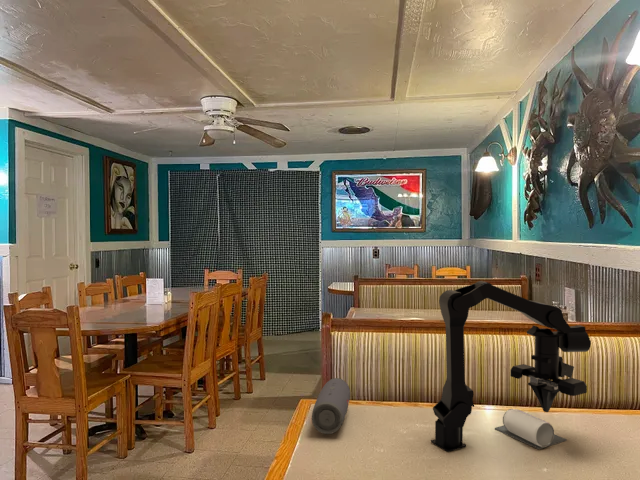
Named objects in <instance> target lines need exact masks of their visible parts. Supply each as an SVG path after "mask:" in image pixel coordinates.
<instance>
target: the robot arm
mask: <svg viewBox="0 0 640 480" xmlns="http://www.w3.org/2000/svg"><path fill="white" fill-rule="evenodd" d="M486 299H488V300H490V301H493V302H495V303H497V304H499V305H502V306H504V307H507V308H510V309H512V310H514V311H517V312H519V313H521V315H524V316H525V317H526V318H528V319H529V320H531V321H532V322H533V323H535V324H537V325H540V326H543V328H540V327H539V326H537V325H532V327H531V328H529V329H528V330H526V334H528V335H530V336H532V337H534V354H531V355H530V356H531V357H530V359H531V360H534V366H531V365H528V364H525V363H524V364H518V365H513V366H512V367H511V368H510V376H509V377H511V378H514V379H517V380H520V379H522V378H523V376H525V377H528V378H529V382H527V385H528V386H530V388H531V389H532V391H533V393H534V395H535V397H536V398H537V400H538V402H539V405H540V406H541V409H542V411H543V412H545V413H549V412H550V409H551V407H552V406H553V403H554V400H555V398H556V397H557V394H559V392H560V393H561V394H564V395H567V396H571V397H575V396H579V395H583V394H587V392H588V386H587V384H586V383H585V381H583V380H580V379H577V378H573V374H574V368H575V366H574V365H571V364H568V363H565V362H564V360H563V357H562V356H561V355H560V350H561V352H563V353H586V352H589V350H591V349H590V348H591V345H592V341H591V339H590V336H589V334H588V333H587V331H586V326H584V325H580V324H579V325H571V326H570V325H569V324H568V322H567V321H566V320H565V318H564V314H563V310H562V309H561V308H559V306H555V305H552V304H548V303H544V302H540V301H535V300H529V299H527V298H524V297H521V296H519V295H517V294H515V293H513V292H510V291H507V290H505V289H502V288H500V287H498V286H495V285H493V284H492V283H490V282H489V281H488V282H487V281H484V280H479V281H477V282H475V283H472V284H469V285H466V286H463V287H459V288H457V289H454V290H453V289H449V290H445V291H443V292H442V293H441V294H440V296H439V300H438V303H439V308H440V313H441V317H442V320H443V322H444V325H445V350H446V351H445V359H446V363H445V365H446V379H445V382H444V384H443V387H442V392H441V397H440V399H439V401H438V402H437V403H436V404H435V405H433V407H432V410H433V413H434V415H435V416H436V417H437V419H436V420H435V422H434V425H435V428H434V429H435V433H434V436H435V437H434V438H433V439H431V440H430V443H432V444H434V445H435V446H436V447H438V448H440V449H442V450H443V451H445V452H447V453H449V452H454V451H456V450H460V449H464V448H467V444H466V443H464V442H463V440H464V439H463V438H464V437H463V436H464V435H463V431H464V426H465V424H466V420H467V417H469V416H470V415H471V414H472V409H473V408H475V404H474V390H473V389H472V388H470V387H469V386H468V384H466V377H465V376H466V375H465V374H466V373H465V333H464V330H465V325H466V323H467V320H468V318H469V312H470V311H469V310H470V308H473V307H476V306H477V305H479V304H480V303H481V302H482V301H484V300H486ZM544 327H545V328H544ZM552 329H553V330H556V331H552ZM565 377H567V378H565ZM562 378H565V379H562Z"/></svg>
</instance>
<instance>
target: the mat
mask: <svg viewBox="0 0 640 480" xmlns="http://www.w3.org/2000/svg"><path fill="white" fill-rule="evenodd" d="M494 430H496V431H498V432H500V433H502V434H504V435H506V436H509V437H511V438H513V439H515V440H518V441H519V442H521V443H524V444H526V445H528V446H530V447H532V448H534V449H536V450H542V449H544V448H548V447H551V446H553V445H557V444H560V443H562V442H566V441H567V438H565V437H563V436H560V435H558V434H555V433H554V438H553V441H552V442H551V444H549V445H548V446H546V447H540V446H538V445H536V444H534V443H532V442H530V441H528V440H526V439H524V438H521V437H519V436H517V435H515V434H514V433H512V432H510V431H509V430H508V429H507V428H506V427H505V426H504V424H503V425H499V426H496V427H494Z"/></svg>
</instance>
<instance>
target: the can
mask: <svg viewBox="0 0 640 480" xmlns="http://www.w3.org/2000/svg"><path fill="white" fill-rule="evenodd" d="M502 424H503V425H504V426H505V427H506V428H507V429H508V430H509V431H510V432H512V433H514V434H515V435H517V436H519V437H521V438H524V439H526V440H528V441H530V442H532V443H534V444H536V445H538V446H540V447H545V448H547V447H546V446H548V445H549V444H551V442H552V441H553V438H554V434H555V429H554V426H553V425H552V424H551V423H550V422H549V421H546V420H545V419H542V418H540V417H537V416H535V415H533V414H530V413H528V412H525V411H523V410H520V409H518V408H508V409H507V410H506V411H505V412H504V414H503V417H502ZM548 447H549V446H548Z"/></svg>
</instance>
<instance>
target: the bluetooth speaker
mask: <svg viewBox="0 0 640 480" xmlns="http://www.w3.org/2000/svg"><path fill="white" fill-rule="evenodd" d="M350 398H351V390H350V386H349V384H348V383H347V382H346V380H344V379H342V378H339V377H335V378H331V379H329V380H328V381H326V383H325V384H324V385H323V387H322V388H321V390H320V392H319V394H318V396H317V398H316V401H315V402H314V403H315V404H314V405H313V409H312V412H311V423H312V426H313V427H314V429H316V431H317V432H319V433H321V434H325V435H331V434H334V433H336V432H338V431H339V430H340V428H341V427H342V425H343V422H344V420H345V418H346V415H347V411H348V408H349V404H350Z"/></svg>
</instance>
